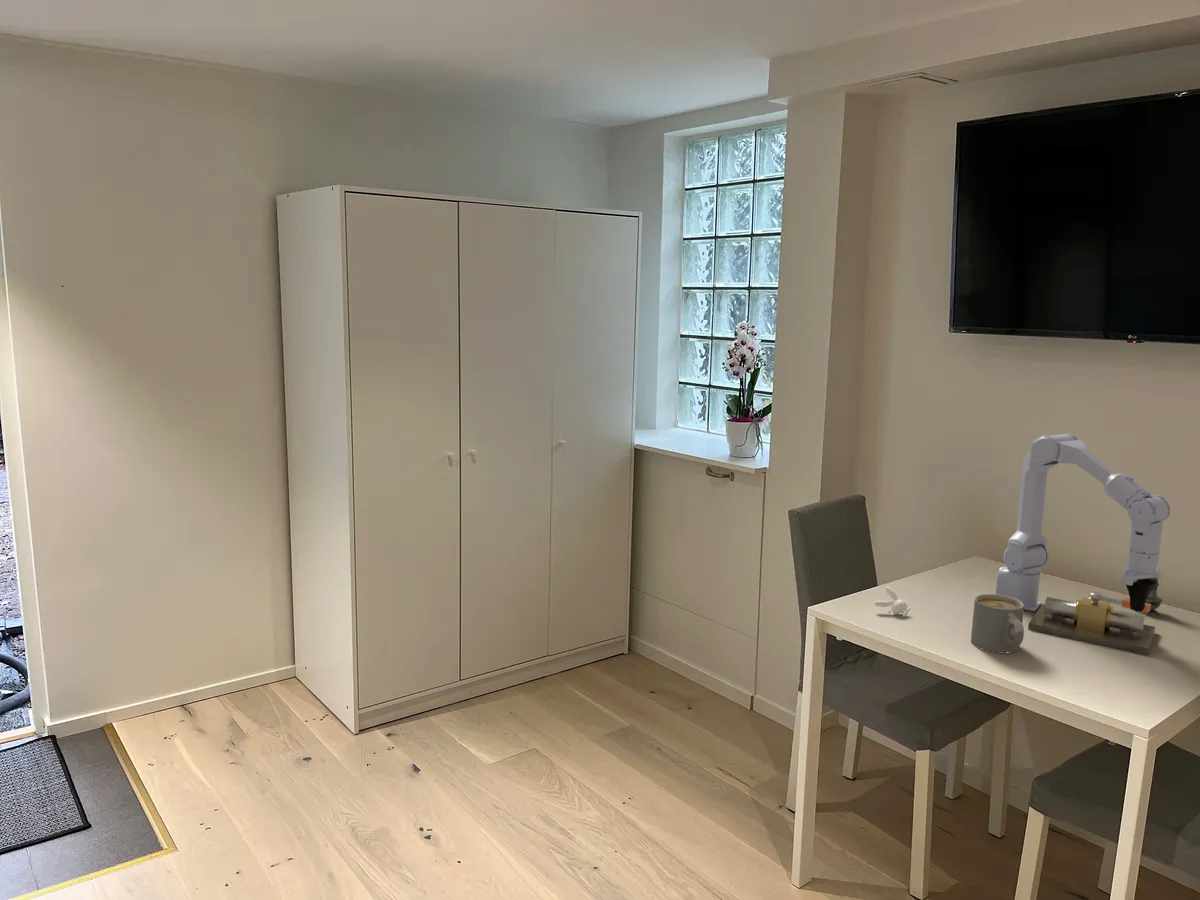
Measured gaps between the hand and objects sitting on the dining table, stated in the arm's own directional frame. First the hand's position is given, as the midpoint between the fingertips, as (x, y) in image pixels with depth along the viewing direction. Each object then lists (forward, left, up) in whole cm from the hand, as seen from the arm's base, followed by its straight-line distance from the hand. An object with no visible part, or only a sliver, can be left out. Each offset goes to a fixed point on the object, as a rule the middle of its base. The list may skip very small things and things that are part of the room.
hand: (1136, 610), depth 204 cm
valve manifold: (-9, +3, -8) cm, 12 cm away
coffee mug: (-24, -21, -8) cm, 33 cm away
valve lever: (-4, +2, 0) cm, 4 cm away
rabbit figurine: (-50, -14, -8) cm, 52 cm away
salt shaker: (0, +26, -8) cm, 27 cm away
